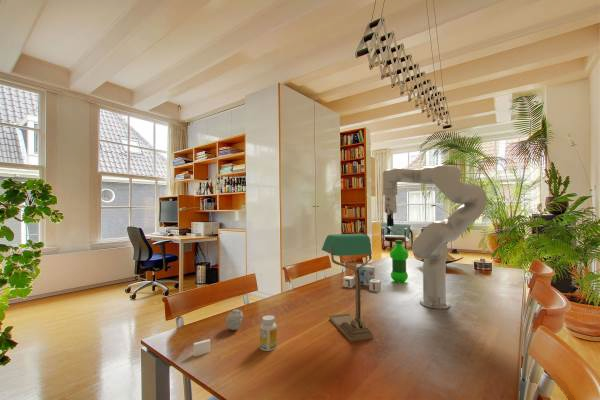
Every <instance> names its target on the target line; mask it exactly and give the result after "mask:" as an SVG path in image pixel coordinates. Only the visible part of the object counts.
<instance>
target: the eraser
mask: <svg viewBox="0 0 600 400" xmlns="http://www.w3.org/2000/svg"><path fill="white" fill-rule="evenodd" d="M211 345H212V344H211V339H210V338H209V339H205V340H202V341H197V342H193V356H194V357H198V356H202V355H205V354H209V353H211Z"/></svg>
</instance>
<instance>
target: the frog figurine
mask: <svg viewBox="0 0 600 400" xmlns="http://www.w3.org/2000/svg"><path fill="white" fill-rule="evenodd" d="M243 318H244V313H243V311H241V310H239V309H235V308H234V309H232V311H230V312H229V313H228V314H227V315H226V319H225V321H224V322H225V324H226V326H227V328H228V329H229V330H231V331H236V330H237V329H239V327H240V326H241V324H242V322H243Z"/></svg>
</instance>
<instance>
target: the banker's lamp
mask: <svg viewBox="0 0 600 400" xmlns="http://www.w3.org/2000/svg"><path fill="white" fill-rule="evenodd" d="M321 251H324V252H325V253H327V254H330V257H331V263H333V264H334V265H337V266H339V267H340V266H341V267H344V268H346V269H350V270H352V271H353V272H354V283H355V315H354V316H355V318H354V317H353V316H351V314H350V312H344V313H335V314H329V321H331V323H332V324H333V325H334V326H335V327H336V328H337V329H338V330H339V331H340V332H341V333H342V334H343V335H344V337H346V338H347V339H348V341H349V342H357V341H365V340H370V339H371V340H373V339H374V333H373V332H372V331H371V330H370V328H369V327H368V326H367V325H366V324H365V321H364V319H363V318H361V311H362V310H361V306H362V305H361V300H362V299H361V285H360V273H359V269H360V268H361V267H363V266H364V265H367V263H369V262H370V261H371V260H372V257H373V256H372V254H373V253H372V243H371V239H370V237H369V235H368V234H363V233H341V234H338V233H337V234H336V233H335V234H328V235H327V236H326V238H325V241H324V243H323V245H322V248H321ZM359 255H362V256H363V255H368V260H367V261H365V262H364V263H362V264H361V266H360V267H358V268H357V270H356V268H355V267H351V266H349V265H346V264H344V263H341V262H339V261H336V260H335V258H334V256H335V257H341V256H345V257H346V256H359Z"/></svg>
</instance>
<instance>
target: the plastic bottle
mask: <svg viewBox="0 0 600 400" xmlns="http://www.w3.org/2000/svg"><path fill="white" fill-rule="evenodd" d="M394 243H395V246H394V247H393V248H392V249H391V250H390V252H389V256H390V258H391V261H392V264H391V265H392V267H391V268H392V270H391V272H390V278H391V279H392V281H394V282H395V283H396V282H397V283H396V284H404V283H405V282H406V281H407V280H408V278H409V274H408V273H407V259H408V258H409V252H408V250H407V249H406V248H405V247H403V243H404V240H402V239H401V240H400V239H396V240H394Z"/></svg>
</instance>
